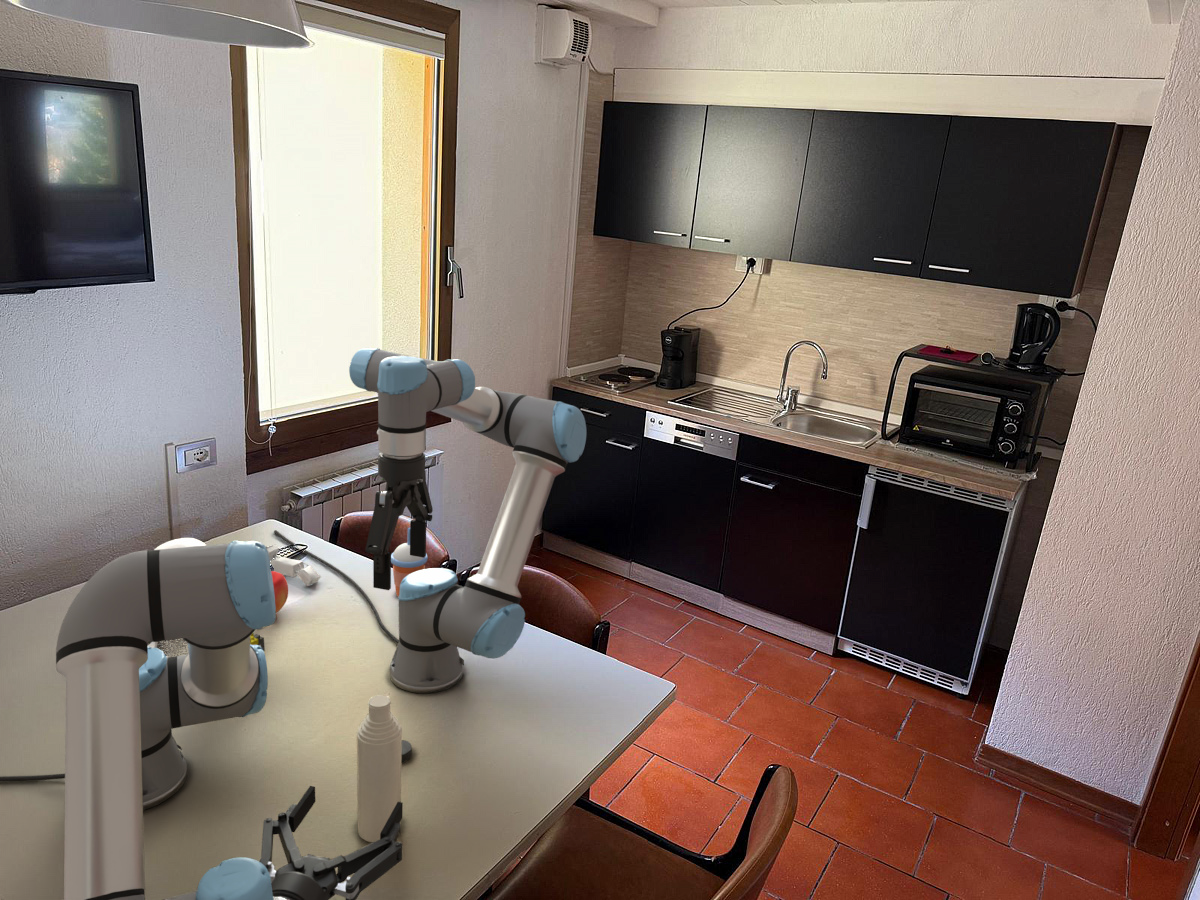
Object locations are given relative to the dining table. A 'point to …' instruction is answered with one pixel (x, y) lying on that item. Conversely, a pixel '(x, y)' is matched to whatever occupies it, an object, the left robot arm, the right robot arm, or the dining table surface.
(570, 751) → the dining table surface
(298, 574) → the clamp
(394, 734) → the bottle
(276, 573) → the apple
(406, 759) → the cap
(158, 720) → the left robot arm
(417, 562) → the cup with straw
